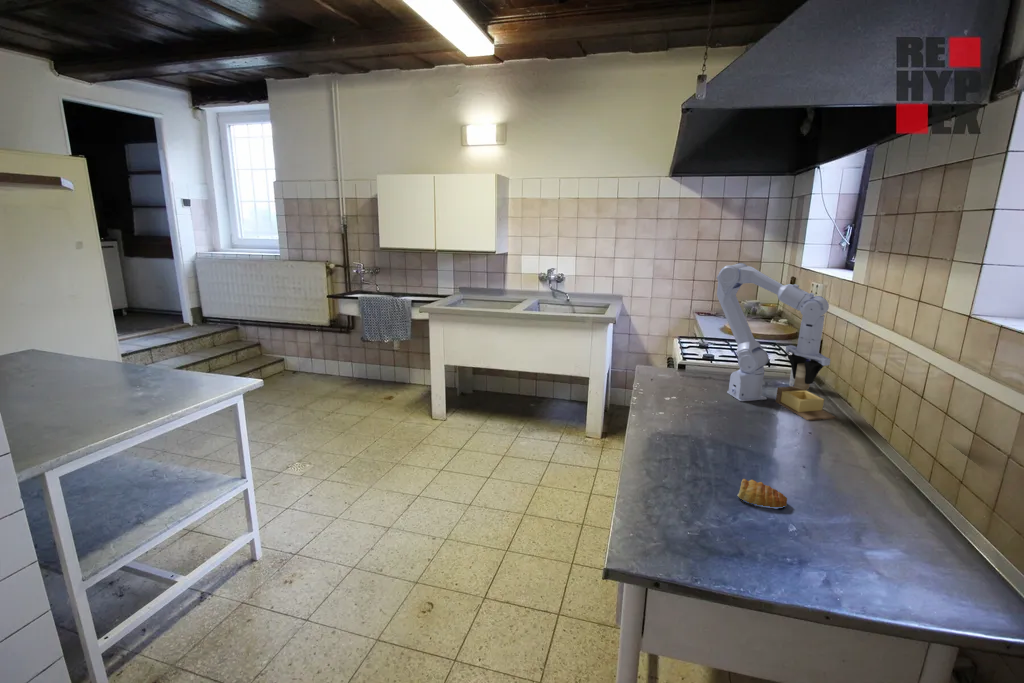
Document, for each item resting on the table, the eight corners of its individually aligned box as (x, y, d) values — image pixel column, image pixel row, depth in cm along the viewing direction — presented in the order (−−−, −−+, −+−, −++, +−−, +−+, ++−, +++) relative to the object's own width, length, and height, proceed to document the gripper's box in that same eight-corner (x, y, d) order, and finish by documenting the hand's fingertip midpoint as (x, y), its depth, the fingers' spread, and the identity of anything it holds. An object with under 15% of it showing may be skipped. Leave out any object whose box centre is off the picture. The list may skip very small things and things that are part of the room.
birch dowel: (801, 389, 147) (805, 367, 145) (790, 385, 150) (794, 363, 148) (812, 388, 148) (815, 366, 146) (801, 383, 151) (804, 362, 149)
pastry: (786, 499, 106) (789, 484, 105) (785, 516, 100) (788, 500, 99) (739, 487, 110) (741, 472, 109) (735, 503, 105) (738, 487, 103)
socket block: (798, 412, 147) (800, 401, 146) (780, 401, 155) (782, 391, 154) (822, 410, 148) (824, 399, 147) (803, 400, 156) (804, 389, 155)
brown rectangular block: (807, 420, 143) (810, 404, 142) (775, 401, 156) (777, 387, 155) (835, 418, 144) (838, 402, 143) (800, 400, 158) (803, 385, 156)
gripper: (780, 332, 151) (773, 374, 154) (818, 345, 137) (811, 390, 141) (799, 331, 152) (792, 372, 156) (839, 343, 139) (831, 388, 142)
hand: (802, 380), depth 148 cm, fingers closed on birch dowel, 4 cm apart
